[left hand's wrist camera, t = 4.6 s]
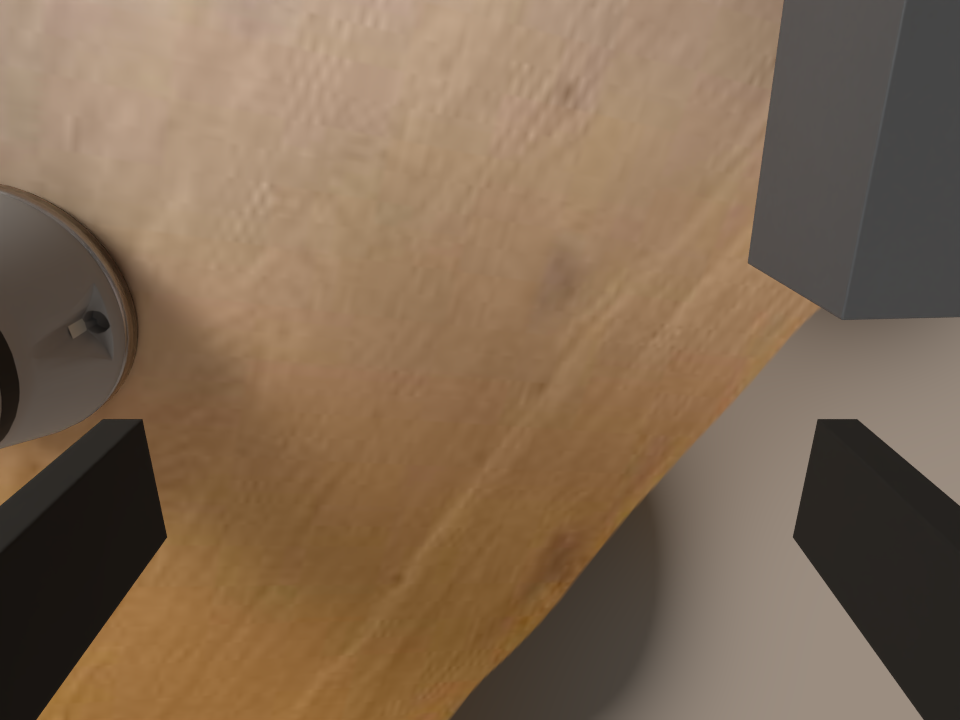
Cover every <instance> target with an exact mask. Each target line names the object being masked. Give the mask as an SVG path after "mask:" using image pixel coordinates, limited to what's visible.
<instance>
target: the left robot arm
mask: <svg viewBox="0 0 960 720" xmlns="http://www.w3.org/2000/svg"><path fill="white" fill-rule="evenodd" d="M137 334H138V331H137V319H136V313H135V308H134V304H133V300H132V297H131V294H130V292H129V289H128V286H127V284H126V282H125V280H124V278H123V276H122V274H121V272H120V270H119V268H118V267H117V265H116V264H115V262H114V260H113V259H112V258H111V256H110V255H109V253H108V252H107V251H106V249H105V248H104V247H103V246H102V245H101V244H100V242H99V241H98V240H97V239H96V238H95V237H94V236H93V235H92V234H91V233H90V232H89V231H88V230H87V229H86V228H85V227H84V226H83V225H81V224H80V223H79V222H78V221H77V220H75V219H74V218H73V217H71V216H70V215H69V214H67V213H66V212H64V211H63V210H61V209H60V208H58V207H57V206H55V205H53V204H52V203H50V202H48V201H46V200H44V199H42V198H40V197H38V196H36V195H33V194H31V193H28V192H26V191H23V190H20V189H17V188H14V187H11V186H7V185H2V184H0V449H1V448H4V447H8V446H11V445H15V444H18V443H22V442H25V441H29V440H33V439H36V438H40V437H43V436H47V435H50V434H53V433H56V432H59V431H62V430H64V429H66V428H68V427H70V426H73V425H75V424H77V423H79V422H81V421H83V420H84V419H86V418H87V417H89V416H90V415H92V414H93V413H94V412H95V411H96V410H98V409H99V408H100V407H101V406H102V405H103V404H105V403H106V402H107V401H108V400H109V399H110V398H111V397H112V396H113V395H114V394H115V393H116V392H117V391H118V390H119V388H120V387H121V386H122V384H123V383H124V381H125V379H126V378H127V376H128V374H129V372H130V369H131V367H132V364H133V361H134V357H135V354H136V347H137ZM166 538H167V534H166V530H165V525H164V520H163V515H162V511H161V506H160V501H159V496H158V492H157V487H156V482H155V477H154V473H153V468H152V463H151V458H150V454H149V449H148V444H147V439H146V435H145V430H144V425H143V420H142V419H103V420H101V421H100V422H99V423H98V424H97V425H96V426H94V427H93V428H92V429H91V430H90V431H88V432H87V433H86V434H85V435H84V436H83V437H81V438H80V439H79V440H78V441H77V442H75V443H74V444H73V445H72V446H71V447H69V448H68V449H67V450H66V451H65V452H64V453H62V454H61V455H60V456H59V457H58V458H56V459H55V460H54V461H53V462H52V463H51V464H49V465H48V466H47V467H46V468H45V469H43V470H42V471H41V472H40V473H39V474H38V475H36V476H35V477H34V478H33V479H32V480H30V481H29V482H28V483H27V484H26V485H25V486H23V487H22V488H21V489H20V490H19V491H17V492H16V493H15V494H14V495H13V496H11V497H10V498H9V499H8V500H7V501H6V502H4V503H3V504H2V505H1V506H0V720H36V719H37V718H38V717H39V715H40V714H41V712H42V711H43V710H44V708H45V707H46V705H47V704H48V703H49V701H50V700H51V698H52V697H53V696H54V694H55V693H56V692H57V690H58V689H59V687H60V686H61V685H62V683H63V682H64V680H65V679H66V678H67V676H68V675H69V673H70V672H71V671H72V669H73V668H74V666H75V665H76V664H77V662H78V661H79V659H80V658H81V657H82V655H83V654H84V652H85V651H86V650H87V648H88V647H89V645H90V644H91V643H92V641H93V640H94V638H95V637H96V636H97V634H98V633H99V632H100V630H101V629H102V627H103V626H104V625H105V623H106V622H107V620H108V619H109V618H110V616H111V615H112V613H113V612H114V611H115V609H116V608H117V606H118V605H119V604H120V602H121V601H122V599H123V598H124V597H125V595H126V594H127V592H128V591H129V590H130V588H131V587H132V585H133V584H134V583H135V581H136V580H137V579H138V577H139V576H140V574H141V573H142V572H143V570H144V569H145V567H146V566H147V565H148V563H149V562H150V560H151V559H152V558H153V556H154V555H155V553H156V552H157V551H158V549H159V548H160V546H161V545H162V544H163V542H164V541H165V539H166ZM793 538H794V539H795V541H796V542H797V543H798V545H799V546H800V548H801V549H802V551H803V552H804V553H805V555H806V556H807V558H808V559H809V560H810V562H811V563H812V565H813V566H814V567H815V569H816V570H817V572H818V573H819V574H820V576H821V577H822V578H823V580H824V581H825V583H826V584H827V585H828V587H829V588H830V590H831V591H832V592H833V594H834V595H835V597H836V598H837V599H838V601H839V602H840V603H841V605H842V606H843V608H844V609H845V611H846V612H847V613H848V615H849V616H850V617H851V619H852V620H853V622H854V623H855V625H856V626H857V627H858V629H859V630H860V631H861V633H862V634H863V636H864V637H865V638H866V640H867V641H868V643H869V644H870V645H871V647H872V648H873V650H874V651H875V652H876V654H877V655H878V657H879V658H880V659H881V661H882V662H883V664H884V665H885V666H886V668H887V669H888V671H889V672H890V673H891V675H892V676H893V677H894V679H895V680H896V682H897V683H898V685H899V686H900V687H901V689H902V690H903V691H904V693H905V694H906V696H907V697H908V698H909V700H910V701H911V703H912V704H913V705H914V707H915V708H916V710H917V711H918V712H919V714H920V715H921V717H922V718H923V719H924V720H960V506H959V505H958V504H957V503H956V502H954V501H953V500H952V499H951V498H950V497H949V496H947V495H946V494H945V493H944V492H942V491H941V490H940V489H939V488H938V487H937V486H935V485H934V484H933V483H932V482H931V481H930V480H928V479H927V478H926V477H925V476H924V475H922V474H921V473H920V472H919V471H918V470H917V469H915V468H914V467H913V466H912V465H911V464H909V463H908V462H907V461H906V460H905V459H904V458H902V457H901V456H900V455H899V454H898V453H896V452H895V451H894V450H893V449H892V448H890V447H889V446H888V445H887V444H886V443H885V442H883V441H882V440H881V439H880V438H879V437H877V436H876V435H875V434H874V433H873V432H872V431H870V430H869V429H868V428H867V427H866V426H864V425H863V424H862V423H861V422H860V421H858V420H857V419H818V420H817V425H816V430H815V435H814V440H813V444H812V449H811V454H810V458H809V463H808V468H807V473H806V477H805V482H804V487H803V492H802V497H801V501H800V506H799V511H798V515H797V520H796V525H795V530H794V534H793Z"/></svg>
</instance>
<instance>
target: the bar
mask: <svg viewBox="0 0 960 720" xmlns="http://www.w3.org/2000/svg"><path fill="white" fill-rule="evenodd" d="M748 264H750V265H752V266H753V267H755V268H757V269H758V270H760V271H762V272H763V273H765V274H767V275H768V276H770V277H772V278H773V279H775V280H777V281H778V282H780V283H782V284H783V285H785V286H787V287H788V288H790V289H792V290H793V291H795V292H797V293H798V294H800V295H802V296H803V297H805V298H807V299H808V300H810V301H811V302H813V303H815V304H816V305H818V306H820V307H821V308H823V309H825V310H826V311H828V312H830V313H831V314H833V315H835V316H836V317H838V318H840V319H842V320H858V319H898V318H941V317H960V0H784V4H783V12H782V19H781V26H780V33H779V41H778V48H777V55H776V62H775V70H774V77H773V84H772V91H771V98H770V106H769V113H768V120H767V127H766V135H765V142H764V149H763V156H762V164H761V171H760V178H759V185H758V193H757V200H756V207H755V214H754V221H753V229H752V236H751V243H750V250H749V258H748Z"/></svg>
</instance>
